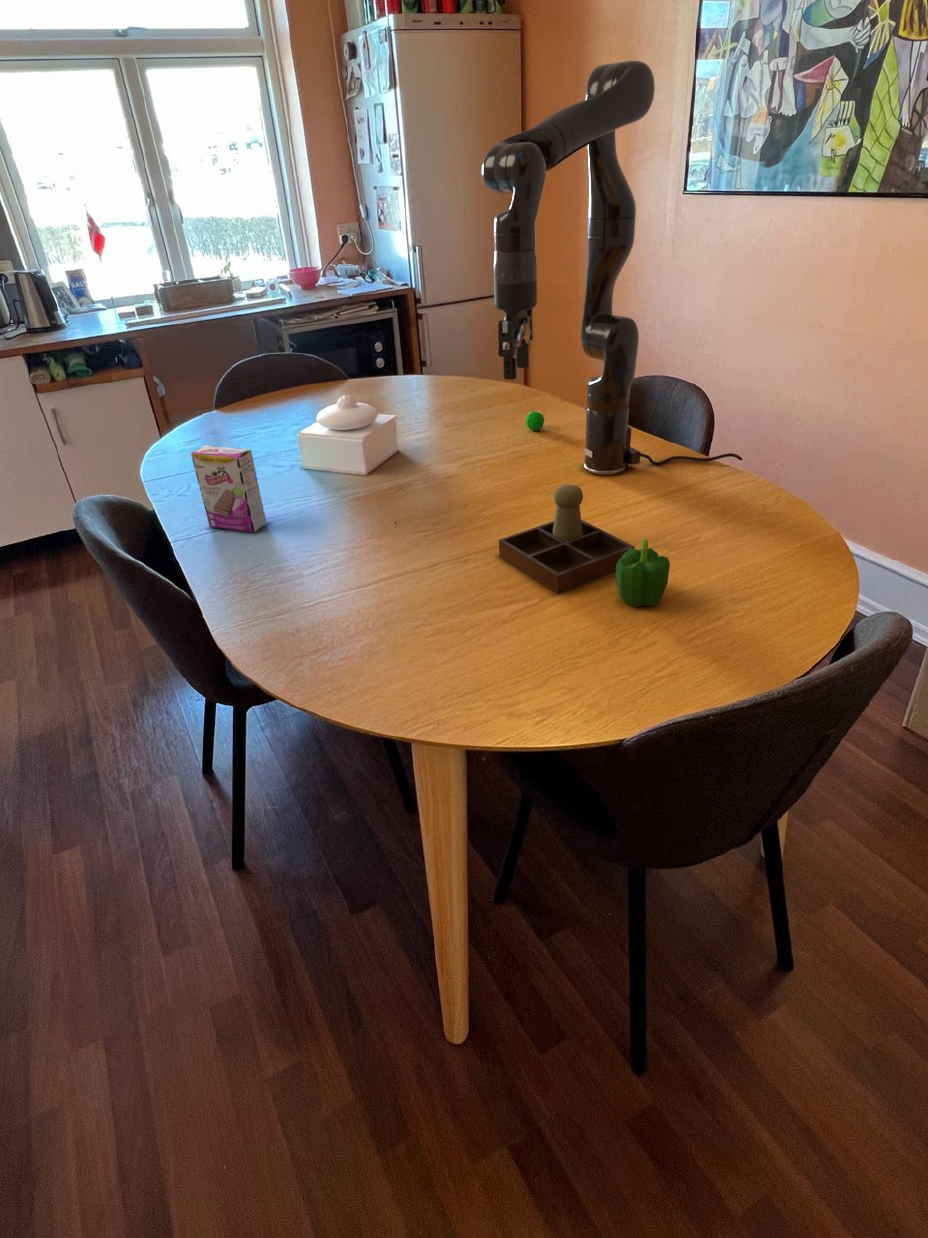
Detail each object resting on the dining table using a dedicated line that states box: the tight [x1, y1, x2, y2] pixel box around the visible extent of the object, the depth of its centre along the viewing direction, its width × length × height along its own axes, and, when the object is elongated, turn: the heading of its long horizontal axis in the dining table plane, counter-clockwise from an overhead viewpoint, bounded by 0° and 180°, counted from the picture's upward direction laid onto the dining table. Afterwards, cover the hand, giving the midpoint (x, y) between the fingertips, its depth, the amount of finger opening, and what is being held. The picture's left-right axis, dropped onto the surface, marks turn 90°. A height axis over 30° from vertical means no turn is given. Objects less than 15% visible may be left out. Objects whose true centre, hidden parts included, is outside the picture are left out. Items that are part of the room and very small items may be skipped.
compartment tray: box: [498, 519, 635, 595], centre depth 133 cm, size 17×17×4 cm
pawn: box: [552, 484, 584, 542], centre depth 136 cm, size 6×6×11 cm
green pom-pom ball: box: [524, 410, 545, 432], centre depth 196 cm, size 5×5×5 cm
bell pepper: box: [615, 538, 671, 608], centre depth 119 cm, size 8×8×10 cm
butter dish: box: [296, 394, 399, 476], centre depth 181 cm, size 18×18×16 cm
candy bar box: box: [190, 445, 267, 534], centre depth 150 cm, size 11×5×16 cm, turn 71°
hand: (516, 373), depth 138 cm, fingers open, 8 cm apart
